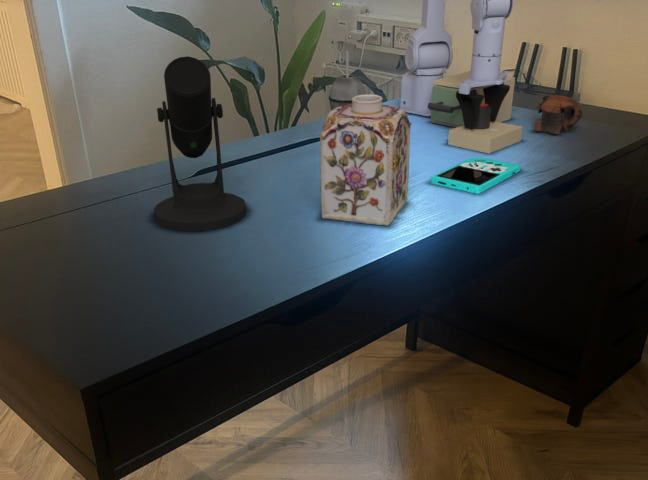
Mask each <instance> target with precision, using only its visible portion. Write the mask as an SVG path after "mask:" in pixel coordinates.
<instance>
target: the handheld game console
mask: <svg viewBox="0 0 648 480" xmlns="http://www.w3.org/2000/svg"><path fill="white" fill-rule="evenodd" d="M520 171H521V164H518V163H513V162H508V161H503V160H498V159H493V158H486V157H469V158H467V159H466V160H463V161H461V162H459V163H457V164H455V165H453V166H451V167H449V168H447V169H444V170H443V171H440V172H438V173H437V174H436V173H435V174H434V175H432V176H431V177H430V184H432V185H436V186H441V187H445V188H449V189H454V190H459V191H463V192H467V193H471V194H477V195H478V194H481V193H483V192H485V191H487V190H489V189H490V188H492V187H495V186H496V185H498V184H499V183H502V182H503V181H505V180H506V179H509V178H511V177H512V176H514V175H516V174H518V173H519V172H520Z"/></svg>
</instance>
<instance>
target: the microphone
mask: <svg viewBox="0 0 648 480" xmlns="http://www.w3.org/2000/svg"><path fill="white" fill-rule="evenodd" d="M211 78H212V77H211V72H210V69H209V68H208V67H207V64H205V63H204V62H203V61H202V60H200V59H198V58H196V57H192V56H180V57H176V58H174V59H172V61H170V62H169V63H168V64H167V66H165V70H164V73H163V79H164V80H163V81H164V87H165V88H164V89H165V95H166V101H165V100H163V101H162V103H161V104H162V107H157V108H156V112H157V121H158V122H159V123H164V129H165V130H164V131H165V137H166V146H167V153H168V164H169V170H170V171H169V172H170V180H171V186H172V187H171V188H172V195H173V196H170V197H167V198H165V199H164V200H161V201H160V202H158V203H157V204H156V205H155V207H154V210H153V211H154V212H153V213H154V218H155V222H156V223H157V224H158V225H160V226H161V227H164V228H166V229H170V230H175V231H180V232H205V231H210V230H217V229H222V228H226V227H229V226H231V225H234V224H236V223H239V222H240V221H241V220H242V219H244V218H245V216H246V214H247V204H246V201H245V199H243V198H242V197H240V196H239V195H236V194H233V193H228V192H225V189H224V178H223V168H222V167H223V166H222V156H221V142H220V133H219V119H222V118H223V117H224V111H223V105H222V104H221V103H217V101H216V97H212V83H211V82H212V79H211ZM213 132H214V139H215V140H214V141H215V152H216V175H215V176H216V177H215V179H214V181H213V182H197V183H189V184H188V183H187V184H181V183H180V182H179V180H178V178H177V174H176V170H175V164H174V161H173V151H172V143H173V144H174V146H175V147H176V148H177V149H178V151H179V153H181V154H182V155H183V156H184V157H187V158H188V159H189V158H190V159H197V158H200V157H201V156H203V155H204V154H205V153H206V151H207V149H208V148H209V147H210V145H211V143H212V140H213ZM171 140H172V143H171Z"/></svg>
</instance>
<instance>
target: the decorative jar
mask: <svg viewBox="0 0 648 480" xmlns="http://www.w3.org/2000/svg"><path fill="white" fill-rule="evenodd" d="M383 100H384V99H383V96H380V95H378V94H371V93H370V94H367V93H366V95H358V96H355V97H353V98H352V104H350V105H344V106H341V107H337V108H335V109H333V110H330V111H329V113H327V115H326V118H325V120H324V123H323V126H322V129H321V132H320V134H319V167H320V168H319V170H320V171H319V173H320V176H319V177H320V209H321V210H320V211H321V218H322V219H323V220H334V221H340V222H341V221H342V222H350V223H359V224H367V225H376V226H385V227H387V226H390V224H391V223H392V222H393V220H394V219H395V218H396V217H397V215H398V214H399V213H400V212H401V210H402V209H403V208H404V206H405V205H406V204H407V202H408V197H409V195H408V194H409V178H410V177H409V175H410V149H411V147H410V146H411V143H410V142H411V126H412V122H411V121H410V118H409V117H408V115H407V112H404V111H402V110H401V109H399V108H400V107H399V108H398V107H396V106H394V105H387V104H383V103H384V102H383Z"/></svg>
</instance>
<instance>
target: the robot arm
mask: <svg viewBox="0 0 648 480" xmlns="http://www.w3.org/2000/svg"><path fill="white" fill-rule="evenodd" d="M469 7H470V15H471V29H472V30H473V40H472V50H471V63H470V71H471V73H470V77H469V78H468V79H467V80H465V81H464V82H462V83H460V84H459V91H457V92H456V98H457V100H458V102H459V104H460V107H461V110H462V115H463V121H464V127H465V128H468V129H475V126H476V122H477V116H478V111H479V108H480V105H481V102H482V100H483V98H485V104H488V106H491V107H492V109H491V119H490V122H495V120H496V118H497V115H498V112H499V109H500V107H501V104H502V102H503V100H504V98H505V96H506V94H507V93H508V92H509V90H510V86H509V85H504V83H507V79H508V77H509V72H504V71H501V63H502V54H503V45H504V34H505V26H506V19H508V18H509V17H510V15H511V14H512V12H513V8H514V0H471V1H470V6H469ZM445 9H446V0H422V8H421V21H420V23H421V24H420V26H419V27H418V28H416V30H414V31H413V32H412V33H411V34H409V36H408V38H407V45H406V49H405V53H404V62H405V67H406V69H407V70H408V71H406V72H405V73H404V74H403V76H402V78H401V83H400V101H399V102H400V103H399V109H401V110H402V111H404V112H405V113H408V114H413V115H417V116H423V117H431V110H430V109H428V104H429V103H432V88H433V86H434V80H438V79H442V78H444V74H446V73H447V70H448V69H449V68H450V67H451V65H452V62H453V58H454V57H453V56H454V53H453V38H452V35H451V34H450V33H449V32H448V31H447V30H446V29H444V20H445V11H446V10H445ZM480 89H483V92H484V95H478V94H477V93H476V91H477V90H480Z"/></svg>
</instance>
